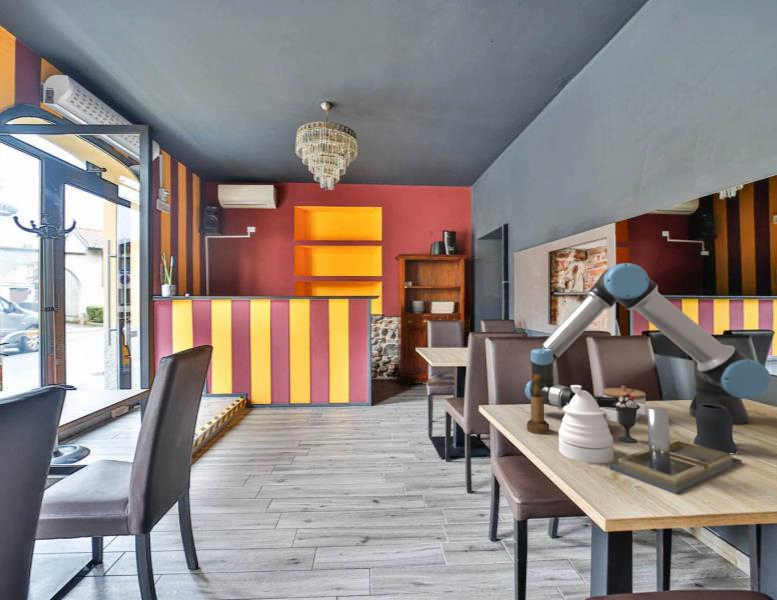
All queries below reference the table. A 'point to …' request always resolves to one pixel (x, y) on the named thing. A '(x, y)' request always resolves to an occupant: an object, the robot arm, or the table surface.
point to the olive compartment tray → (672, 458)
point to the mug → (714, 428)
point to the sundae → (626, 415)
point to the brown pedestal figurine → (537, 409)
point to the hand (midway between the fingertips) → (632, 413)
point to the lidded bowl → (618, 392)
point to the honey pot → (585, 430)
